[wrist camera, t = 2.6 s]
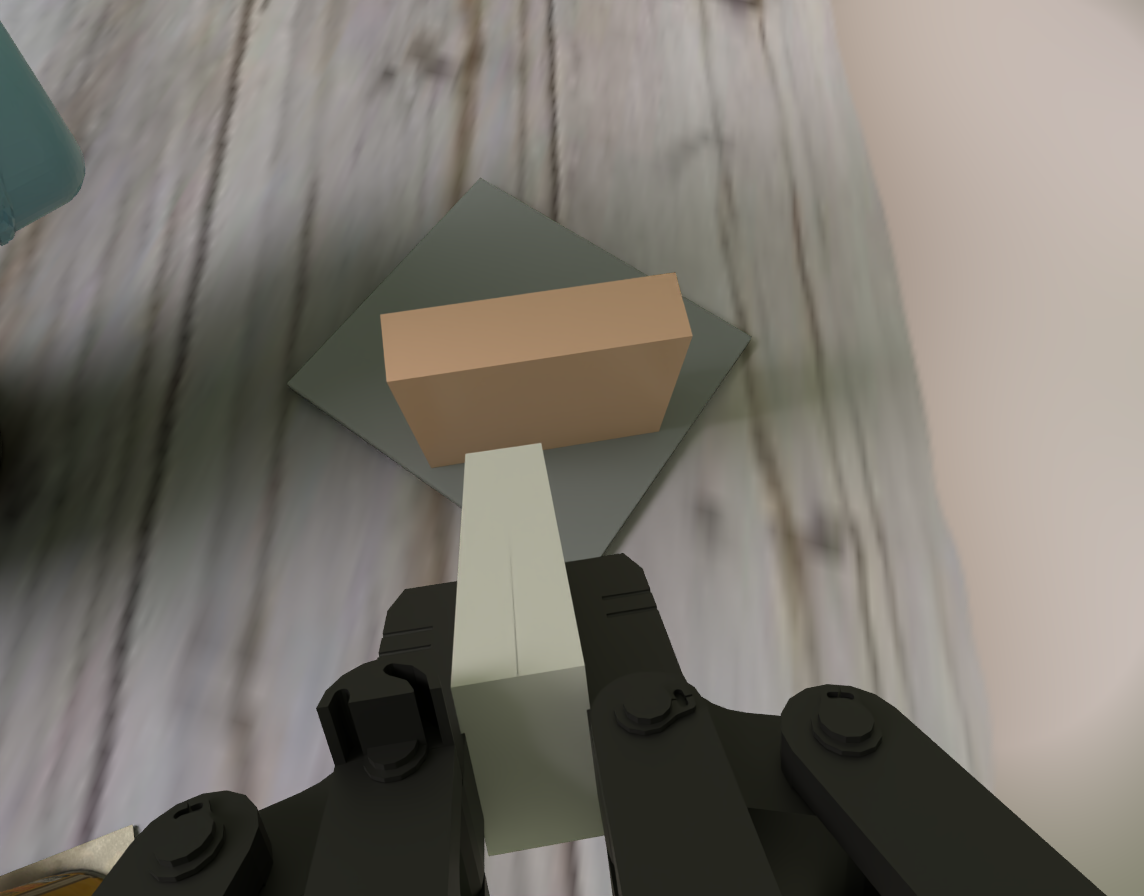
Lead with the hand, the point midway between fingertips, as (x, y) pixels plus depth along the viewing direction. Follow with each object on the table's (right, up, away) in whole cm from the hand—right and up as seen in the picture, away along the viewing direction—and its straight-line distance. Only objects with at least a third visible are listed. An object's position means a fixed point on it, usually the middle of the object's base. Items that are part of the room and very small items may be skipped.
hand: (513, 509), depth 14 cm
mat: (-1, +6, +25) cm, 25 cm away
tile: (0, +3, +23) cm, 23 cm away
